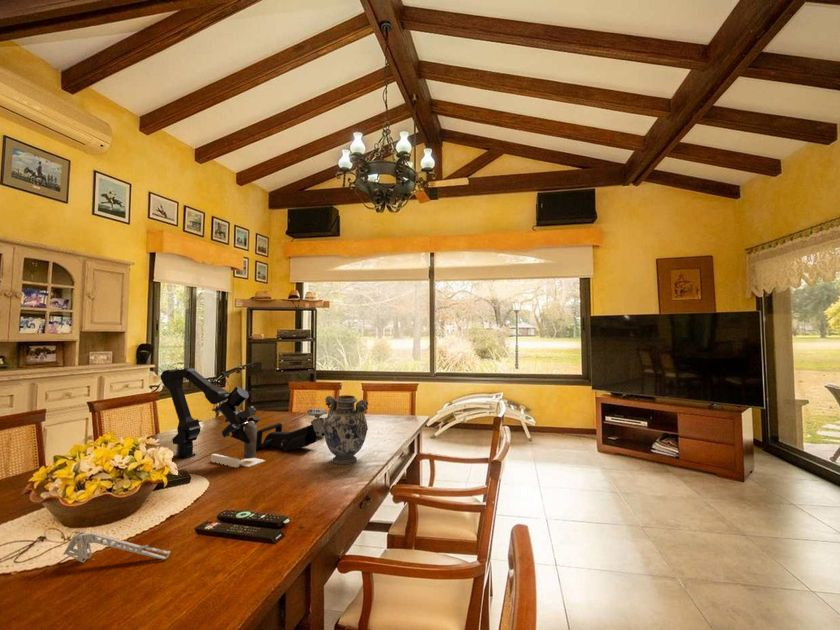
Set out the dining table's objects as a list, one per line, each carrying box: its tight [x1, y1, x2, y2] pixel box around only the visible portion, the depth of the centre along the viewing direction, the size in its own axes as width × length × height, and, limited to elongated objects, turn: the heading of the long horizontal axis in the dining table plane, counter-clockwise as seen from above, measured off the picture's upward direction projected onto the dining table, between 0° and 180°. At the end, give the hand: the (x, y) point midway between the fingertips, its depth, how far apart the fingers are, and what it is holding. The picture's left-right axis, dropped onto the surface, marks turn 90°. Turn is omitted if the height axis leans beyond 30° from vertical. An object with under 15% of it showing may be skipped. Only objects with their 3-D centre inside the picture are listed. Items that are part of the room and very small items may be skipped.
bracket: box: [62, 530, 171, 563], centre depth 99 cm, size 3×21×10 cm, turn 95°
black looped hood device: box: [256, 422, 318, 452], centre depth 195 cm, size 17×27×15 cm, turn 73°
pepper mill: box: [242, 421, 258, 459], centre depth 173 cm, size 5×5×15 cm
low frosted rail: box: [210, 453, 240, 468], centre depth 170 cm, size 15×2×3 cm, turn 64°
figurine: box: [302, 407, 328, 439], centre depth 217 cm, size 9×12×15 cm
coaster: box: [239, 457, 266, 468], centre depth 172 cm, size 9×9×1 cm
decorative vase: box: [323, 394, 369, 465], centre depth 178 cm, size 21×19×28 cm
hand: (253, 441), depth 172 cm, fingers closed on pepper mill, 5 cm apart
